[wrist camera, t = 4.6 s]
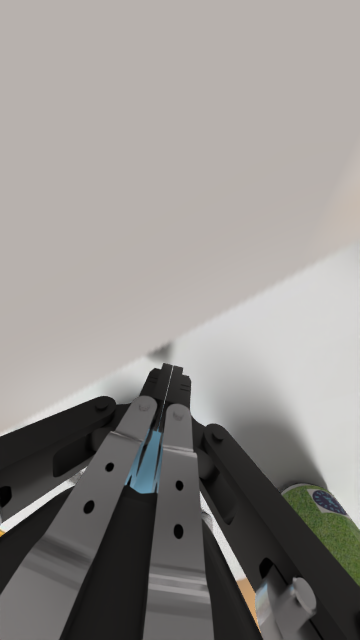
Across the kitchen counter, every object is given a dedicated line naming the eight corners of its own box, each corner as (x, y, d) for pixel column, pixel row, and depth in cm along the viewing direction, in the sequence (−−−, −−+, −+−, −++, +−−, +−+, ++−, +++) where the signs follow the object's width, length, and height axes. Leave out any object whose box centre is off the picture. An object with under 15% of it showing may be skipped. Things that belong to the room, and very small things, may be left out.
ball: (137, 408, 16) (107, 477, 10) (195, 421, 15) (194, 499, 10) (131, 450, 17) (103, 527, 12) (184, 462, 17) (178, 548, 12)
